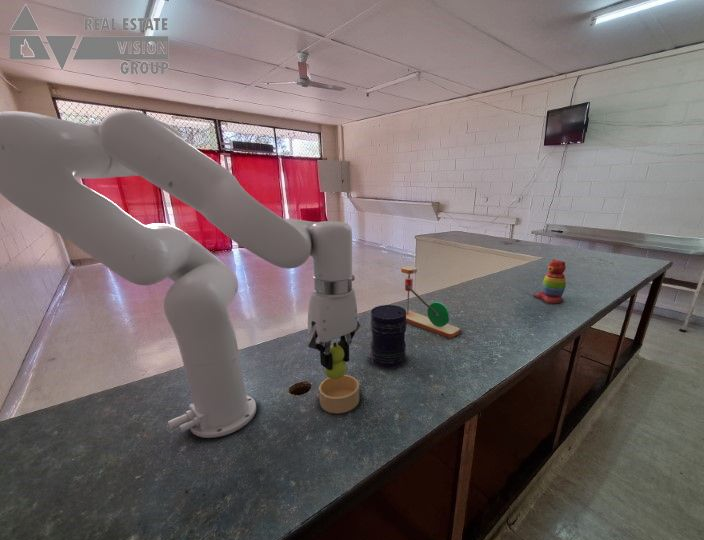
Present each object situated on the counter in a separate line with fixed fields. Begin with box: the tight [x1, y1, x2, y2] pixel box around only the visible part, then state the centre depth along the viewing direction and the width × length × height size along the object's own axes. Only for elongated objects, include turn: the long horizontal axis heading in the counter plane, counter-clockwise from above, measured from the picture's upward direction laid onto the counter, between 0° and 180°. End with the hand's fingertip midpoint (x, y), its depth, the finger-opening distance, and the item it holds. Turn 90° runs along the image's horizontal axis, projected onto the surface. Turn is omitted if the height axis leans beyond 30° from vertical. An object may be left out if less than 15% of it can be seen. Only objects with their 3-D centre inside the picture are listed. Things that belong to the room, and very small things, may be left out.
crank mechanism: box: [400, 265, 461, 339], centre depth 111 cm, size 25×7×19 cm, turn 49°
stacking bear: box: [534, 258, 567, 304], centre depth 140 cm, size 11×10×18 cm
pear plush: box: [324, 341, 347, 379], centre depth 70 cm, size 5×5×9 cm
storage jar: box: [370, 304, 407, 369], centre depth 88 cm, size 10×10×15 cm
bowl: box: [318, 374, 360, 414], centre depth 73 cm, size 9×9×4 cm
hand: (335, 362), depth 70 cm, fingers closed on pear plush, 4 cm apart
